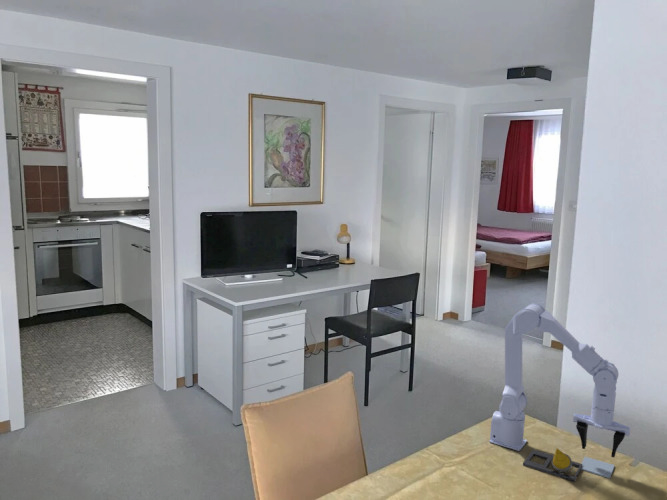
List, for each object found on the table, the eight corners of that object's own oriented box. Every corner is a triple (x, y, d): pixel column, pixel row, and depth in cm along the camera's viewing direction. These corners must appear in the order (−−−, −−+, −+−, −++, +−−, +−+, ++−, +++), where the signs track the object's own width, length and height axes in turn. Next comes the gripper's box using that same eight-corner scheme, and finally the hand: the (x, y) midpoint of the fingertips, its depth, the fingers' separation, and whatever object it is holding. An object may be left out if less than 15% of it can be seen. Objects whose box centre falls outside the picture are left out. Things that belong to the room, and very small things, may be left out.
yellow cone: (574, 478, 155) (567, 457, 150) (554, 477, 158) (546, 456, 153) (573, 460, 159) (567, 439, 154) (553, 460, 162) (546, 439, 157)
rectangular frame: (522, 465, 160) (522, 463, 160) (532, 451, 168) (532, 449, 168) (574, 482, 152) (574, 479, 152) (582, 466, 160) (582, 464, 160)
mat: (578, 469, 159) (579, 467, 159) (584, 457, 166) (584, 456, 166) (609, 478, 155) (609, 477, 154) (614, 466, 161) (614, 465, 161)
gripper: (572, 404, 158) (568, 449, 160) (629, 418, 150) (624, 465, 152) (577, 396, 164) (573, 440, 166) (633, 409, 156) (628, 455, 158)
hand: (598, 451), depth 159 cm, fingers open, 7 cm apart
